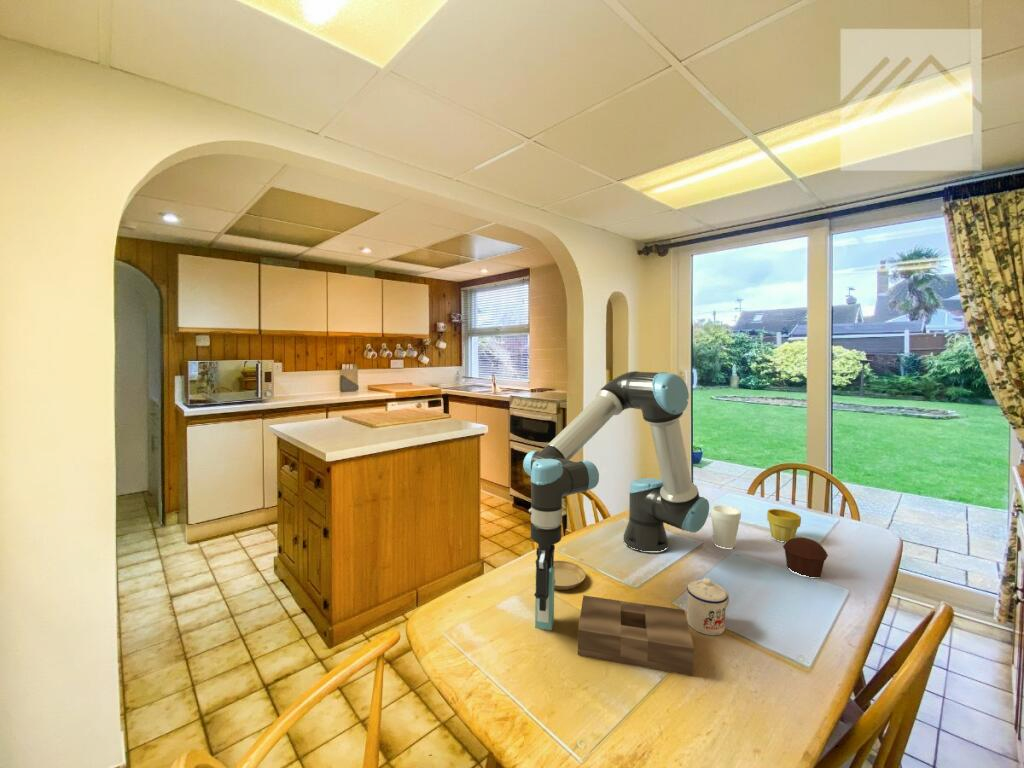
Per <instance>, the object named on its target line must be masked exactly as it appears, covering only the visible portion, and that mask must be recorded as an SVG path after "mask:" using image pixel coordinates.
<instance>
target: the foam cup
mask: <svg viewBox="0 0 1024 768" xmlns="http://www.w3.org/2000/svg"><path fill="white" fill-rule="evenodd" d="M741 515H742V511H741V510H740V509H738V508H736V507H734V506H730V505H724V504H715V505H712V506H711V507H710V516H711V524H712V525H711V527H712V535H713V543H715V544H716V545H718V546H721V547H725V548H732V547H734V548H735V545H736V542H737V541H736V539H737V535H738V530H739V525H740V522H741V517H742V516H741ZM715 544H714V545H715Z"/></svg>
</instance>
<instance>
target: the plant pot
mask: <svg viewBox="0 0 1024 768" xmlns="http://www.w3.org/2000/svg"><path fill="white" fill-rule="evenodd" d="M766 514H767V515H766V517H767V518H766V519H767V521H768V523H769V529H770V536H771V538H772V537H773V538H774V539H776V540H779V541H784V542H787V541H788V540H790V539H793V538H796V533H797V531H798V528H800V527H801V523H802V522H801V521H802V516H801V515H800V514H798V513H796V512H794V511H790V510H786V509H781V508H770V509H768V510H767V513H766ZM774 539H773V540H774Z"/></svg>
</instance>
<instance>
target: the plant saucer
mask: <svg viewBox="0 0 1024 768" xmlns="http://www.w3.org/2000/svg"><path fill="white" fill-rule="evenodd" d="M554 567H555V578H554V580H555V584H554V590H559V591H566V590H572V589H574V588H576V587H578V586H579V585H580V584H581V583H582V582H583V581H584V580H585V579H586V575H587V574H586V571H585V570H584V568H583V567H582V566H580V565H578V563H577V564H576V563H574V562H571V561H566V560H554Z"/></svg>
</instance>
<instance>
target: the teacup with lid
mask: <svg viewBox="0 0 1024 768" xmlns="http://www.w3.org/2000/svg"><path fill="white" fill-rule="evenodd" d="M686 590H687V605H686V606H687V608H686V609H687V610H686V618H687V622H688V626H690V628H692V629H693V630H694V631H696V632H698V633H700V634H702V635H706V636H707V635H708V636H719V635H721V634H723V633H724V631H725V630H726V614H727V613H726V610H727V608H728V606H729V602H730V595H729V593H728V592H727V591H726V590H725V589H724V588H723V587H721V586H720V585H718V584H717V583H714V582H712V580H711V578H708V577H705V578H703V579H700V580H697V579H696V580H693V581H690V582H689V584H687V587H686Z"/></svg>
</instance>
